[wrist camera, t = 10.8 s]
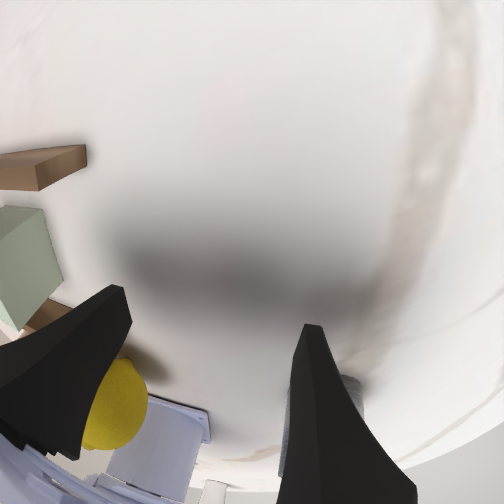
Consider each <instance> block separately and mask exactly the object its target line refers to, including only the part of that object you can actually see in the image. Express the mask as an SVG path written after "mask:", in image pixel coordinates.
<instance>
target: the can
mask: <svg viewBox="0 0 504 504" xmlns="http://www.w3.org/2000/svg"><path fill="white" fill-rule="evenodd" d="M340 376H341V378H342V380H343V382H344V384H345V387H346V389H347V391H348V393H349V395H350V397H351V399H352V401H353V403H354V404H355V406H356V408H357V410H358V412H359V413H360V415H361V417H362V418H363V420H364V407H363V396H362V386H361V384H360V382H359V381H358V380H356V379H355V378H353V377H350V376H347V375H341V374H340ZM289 422H290V388H289V389H288V393H287V404H286V414H285V423H284V432H283V440H282V448H281V456H280V464H279V471H278V476H279V477H281V478H282V476H283V470H284V465H285V459H286V453H287V446H288V439H289ZM364 422H365V421H364Z"/></svg>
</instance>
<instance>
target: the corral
mask: <svg viewBox="0 0 504 504" xmlns="http://www.w3.org/2000/svg"><path fill="white" fill-rule="evenodd" d="M84 167H86V153H85V145H74V146H62V147H52V148H43V149H35V150H28V151H21V152H15V153H9V154H3V155H0V190H22V191H40V190H42V189H44V188H45V187H47V186H49V185H51V184H53V183H55V182H56V181H58V180H60V179H62V178H64V177H66V176H68V175H70V174H72V173H74V172H76V171H78V170H80V169H82V168H84ZM71 310H72V309H71V308H69V307H66V306H64V305H61V304H59V303H57V302H54V301H52V300H50V299H46V301H45V302H44V303H43V304H42V305H41V306H40V307H39V309H38V310H37V311H36V312H35V313H34V314H33V316H32V317H31V318H30V319H29V320H28V322H27V323H26V324H25V325H24V326H23V328H22V329H24V330H25V331H27V332H29V333H30V334H31V333H33V332H35V331H37V330H39V329H41V328H43V327H45V326H46V325H48V324H50V323H52V322H53V321H55V320H56V319H58V318H60V317H61V316H63V315H64V314H66V313H68V312H69V311H71Z"/></svg>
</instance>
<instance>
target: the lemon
mask: <svg viewBox="0 0 504 504" xmlns="http://www.w3.org/2000/svg"><path fill="white" fill-rule="evenodd" d="M147 407H148V393H147V388H146V385H145V383H144V381H143V379H142V377H141V376H140V374H139V373H138V372H137V371H136V370H135V369H134V366H133V363H132V361H131V360H129V359H127V358H123V359H116V358H115V359H114V361H113V362H112V364H111V366H110V368H109V369H108V371H107V373H106V375H105V376H104V378H103V380H102V382H101V384H100V386H99V388H98V391H97V393H96V396H95V398H94V401H93V404H92V406H91V409H90V413H89V416H88V419H87V422H86V426H85V430H84V434H83V439H82V444H81V446H83V447H84V448H85V449H87V450H93V449H99V450H113V449H118V448H120V447H123V446H124V445H126V444H127V443H129V442H130V441H131V440H132V439H133V438H134V436H135V435H136V434H137V432H138V431H139V429H140V428H141V426H142V424H143V422H144V419H145V416H146V413H147Z"/></svg>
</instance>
